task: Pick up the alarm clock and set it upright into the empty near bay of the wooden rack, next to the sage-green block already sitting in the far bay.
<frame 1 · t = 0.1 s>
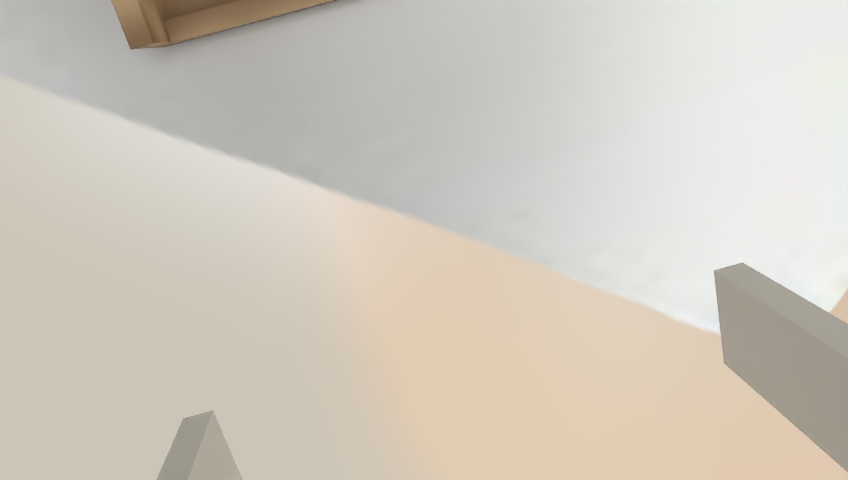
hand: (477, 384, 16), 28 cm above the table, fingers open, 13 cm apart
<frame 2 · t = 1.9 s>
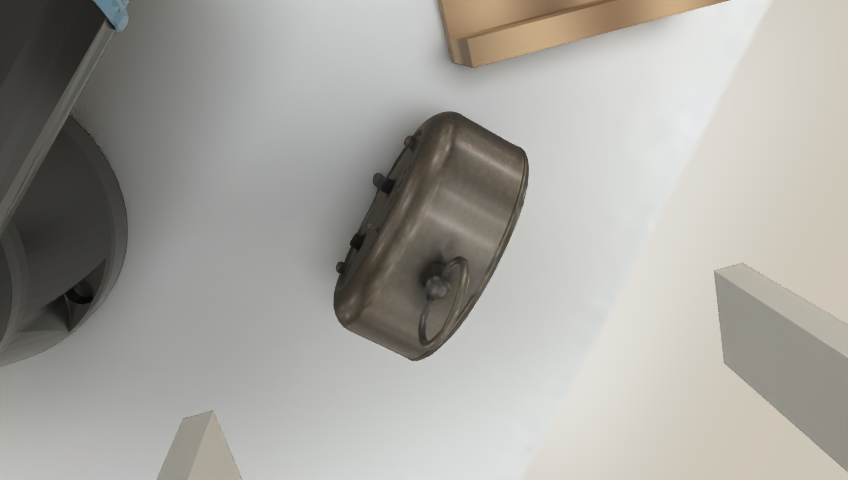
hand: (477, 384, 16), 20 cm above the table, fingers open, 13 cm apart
alarm clock: (407, 195, 36), on the table
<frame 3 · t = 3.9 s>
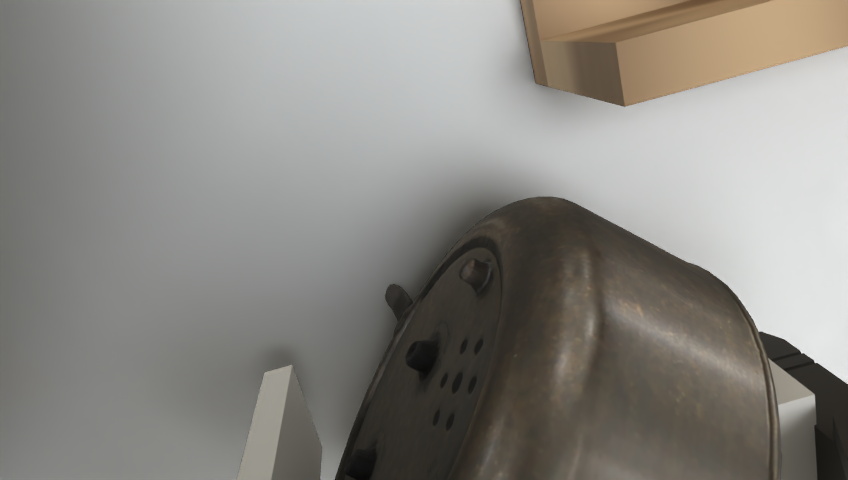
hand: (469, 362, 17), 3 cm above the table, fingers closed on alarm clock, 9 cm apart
alarm clock: (447, 316, 20), on the table, touching gripper
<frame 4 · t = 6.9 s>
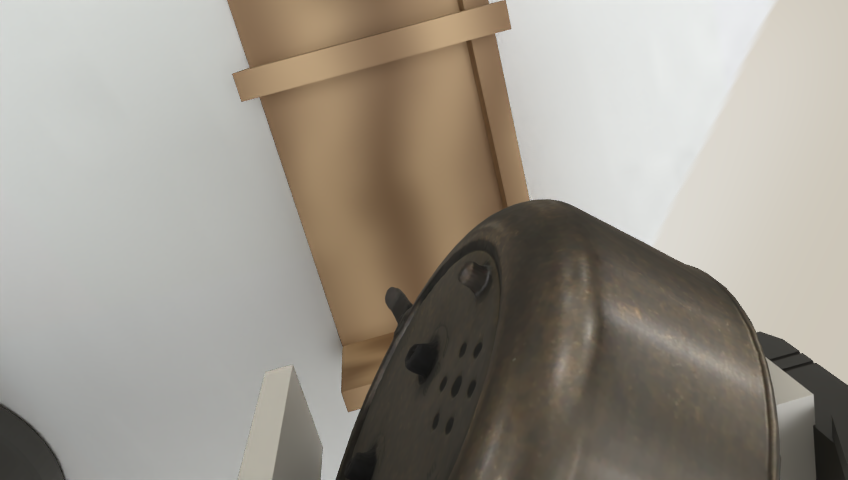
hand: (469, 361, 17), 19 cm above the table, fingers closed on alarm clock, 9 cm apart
alarm clock: (447, 319, 20), point 16 cm above the table, touching gripper
wooden rack: (369, 48, 33), on the table
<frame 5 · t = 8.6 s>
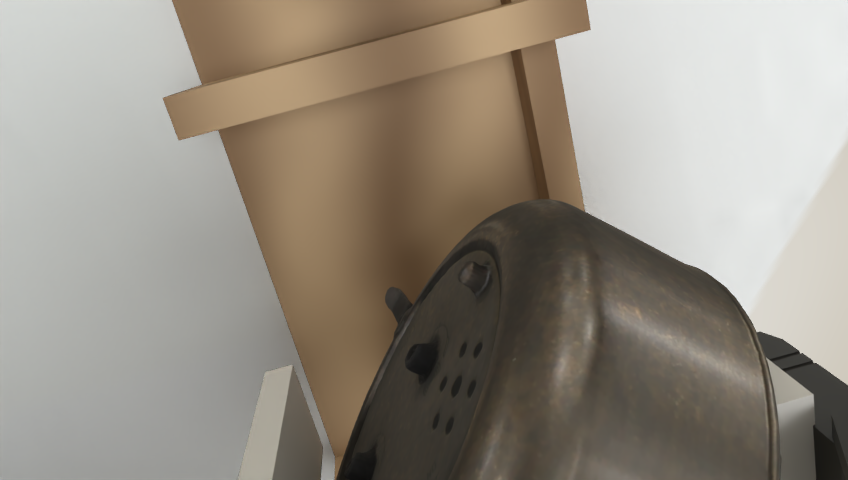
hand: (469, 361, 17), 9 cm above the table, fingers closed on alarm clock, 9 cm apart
alarm clock: (447, 319, 20), point 6 cm above the table, touching gripper
wooden rack: (372, 56, 24), on the table
when the fingers open (5 cm above the table, at t = 9.9 s): alarm clock drops 1 cm, resting on wooden rack.
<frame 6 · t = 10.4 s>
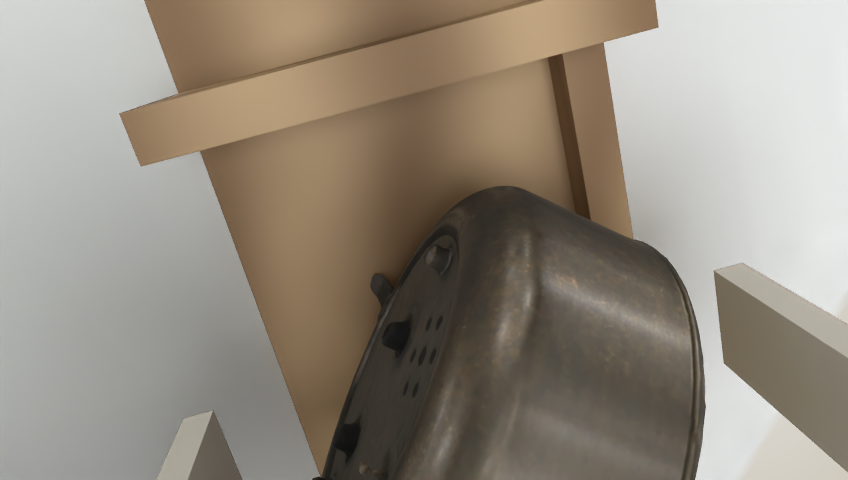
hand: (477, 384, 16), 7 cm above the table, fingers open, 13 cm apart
alarm clock: (430, 302, 22), point 1 cm above the table, touching wooden rack
wooden rack: (382, 59, 20), on the table
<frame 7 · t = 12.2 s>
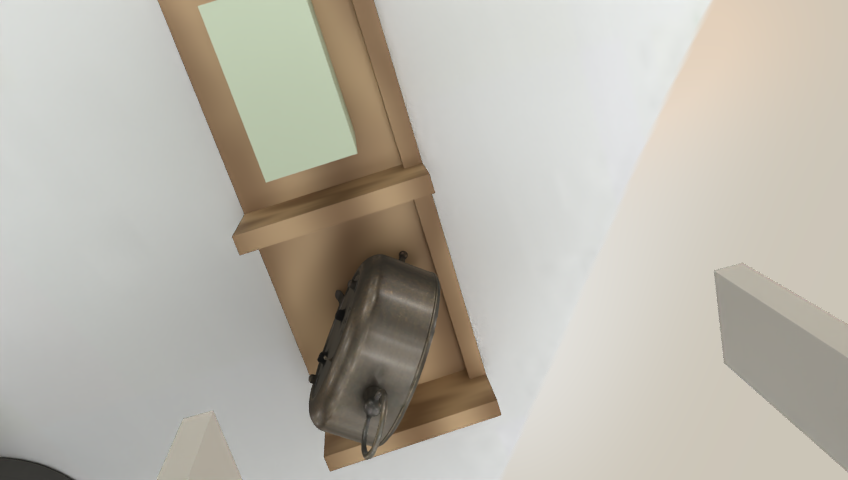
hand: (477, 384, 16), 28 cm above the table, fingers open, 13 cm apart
sage block: (293, 74, 40), point 1 cm above the table, touching wooden rack
alarm clock: (364, 302, 45), point 1 cm above the table, touching wooden rack
wooden rack: (335, 190, 43), on the table
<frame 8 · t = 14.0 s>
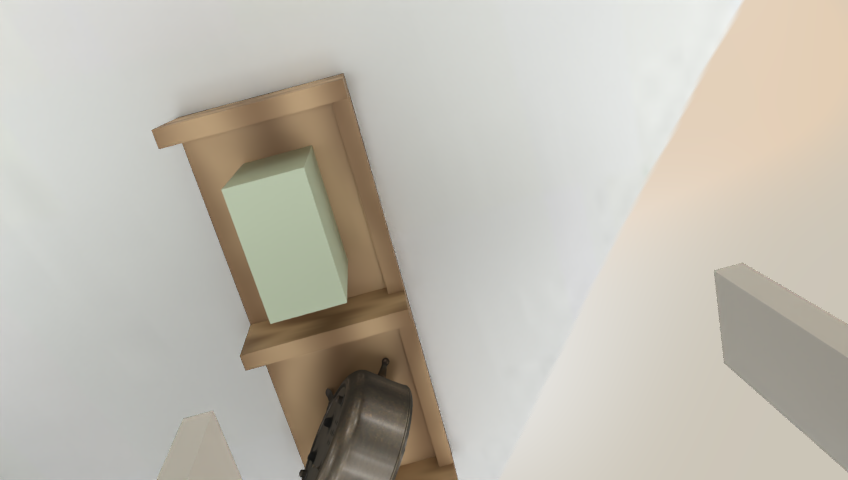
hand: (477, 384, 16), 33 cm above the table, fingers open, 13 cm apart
sage block: (297, 213, 47), point 1 cm above the table, touching wooden rack
alarm clock: (351, 398, 52), point 1 cm above the table, touching wooden rack
wooden rack: (329, 304, 50), on the table
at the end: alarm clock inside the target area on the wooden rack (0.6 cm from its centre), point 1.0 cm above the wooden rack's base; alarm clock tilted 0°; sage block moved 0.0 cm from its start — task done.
